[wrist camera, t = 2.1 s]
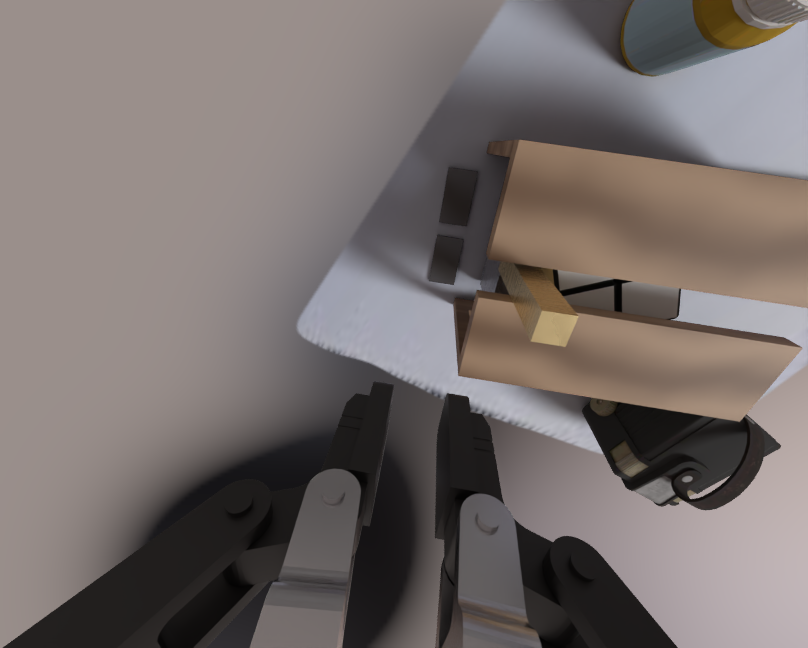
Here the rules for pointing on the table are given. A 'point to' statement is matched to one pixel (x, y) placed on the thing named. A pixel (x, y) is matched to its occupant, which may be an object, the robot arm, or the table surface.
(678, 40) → the bottle
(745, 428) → the camera
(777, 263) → the wooden plank structure
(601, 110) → the table surface
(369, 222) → the table surface
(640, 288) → the puzzle cube
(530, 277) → the wooden square rod
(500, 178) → the table surface
